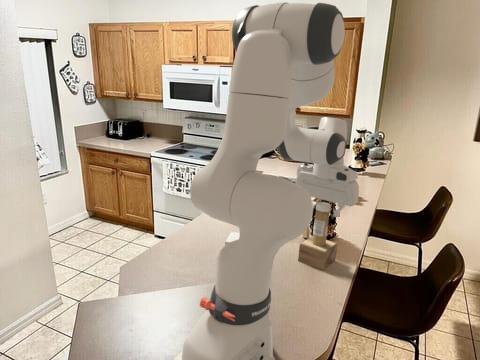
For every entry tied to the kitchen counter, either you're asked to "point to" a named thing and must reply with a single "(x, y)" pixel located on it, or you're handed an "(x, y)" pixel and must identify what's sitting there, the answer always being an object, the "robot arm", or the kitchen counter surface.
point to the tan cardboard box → (317, 253)
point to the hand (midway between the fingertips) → (322, 212)
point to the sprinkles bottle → (321, 223)
